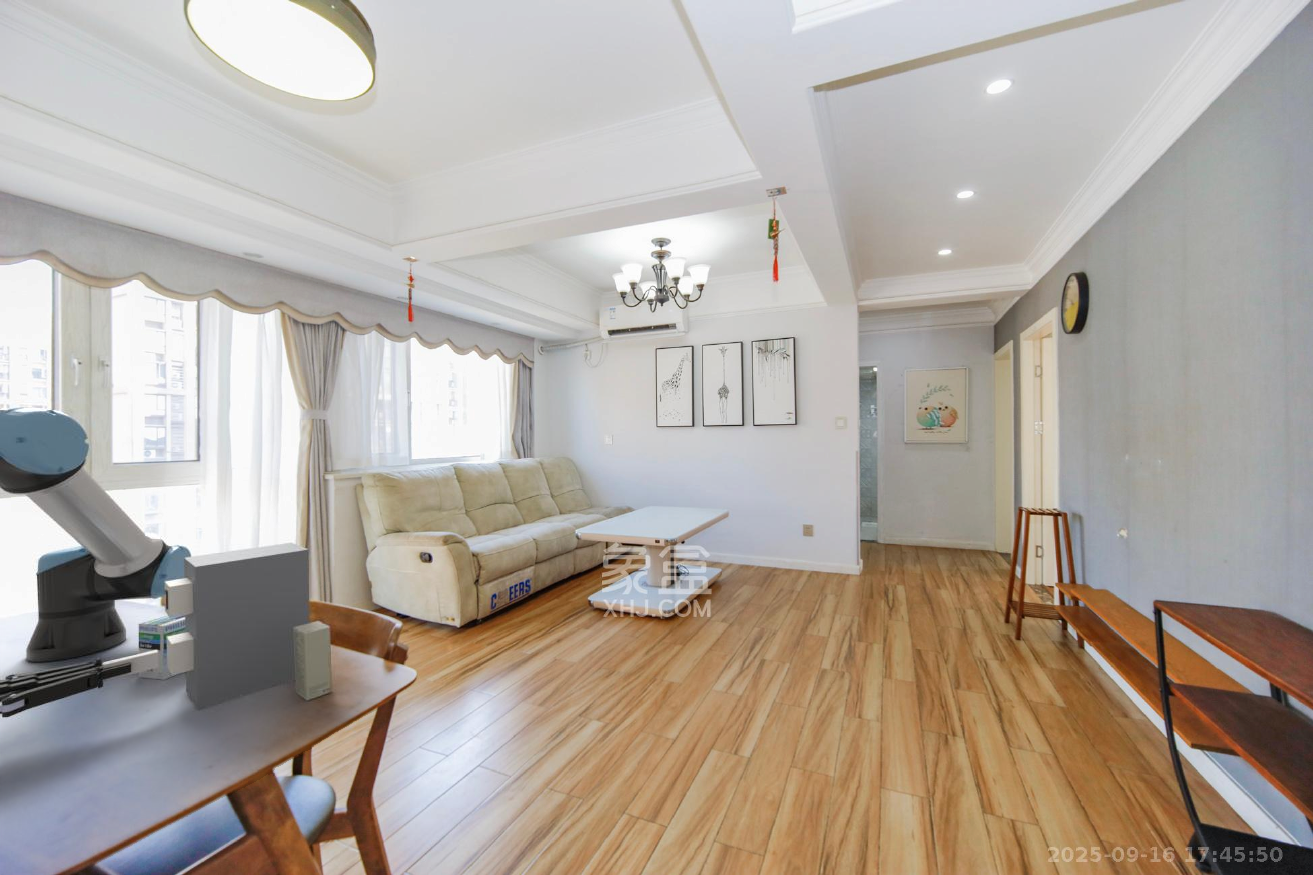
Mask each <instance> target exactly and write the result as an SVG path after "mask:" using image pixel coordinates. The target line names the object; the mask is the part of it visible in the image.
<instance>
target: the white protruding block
mask: <svg viewBox="0 0 1313 875" xmlns="http://www.w3.org/2000/svg"><path fill="white" fill-rule="evenodd" d="M164 610H165V611H164V612H165V613H166V616H167V615H168V616H169V617H170V618H173V617H177V616H182V615H187V614H192V613H193V581H192V580H191V579H190V578H183V579H177V580H171V581H165V597H164Z"/></svg>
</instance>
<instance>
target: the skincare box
mask: <svg viewBox="0 0 1313 875" xmlns="http://www.w3.org/2000/svg"><path fill="white" fill-rule="evenodd" d="M293 632H294V656H295V692H296V693H297V694H298V695H299V696H300V697H302V698H303V699H304V700H306V701H309V700H312V699H315V698H318V697H321V696H323V695H327V694H328V693H332V692H333V674H332V673H333V672H332V651H331V647H332V646H331V627H330V625H329V624H326V623H324V622H322V621H320V620H316V621H312V622H310V623H308V624H304V625H300V626H296V627H293Z"/></svg>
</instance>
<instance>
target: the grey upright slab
mask: <svg viewBox="0 0 1313 875" xmlns="http://www.w3.org/2000/svg"><path fill="white" fill-rule="evenodd" d="M309 550H310V549H308V548H306V547H304V546H301V545H298V544H295V543H293V542H287V543H279V544H271V545H266V546H258V547H253V548H251V547H249V548H244V549H237V550H231V551H223V552H215V553H208V554H201V555H194V556H191V557H186V558H184V578H190V579H191V580H192V581H193V613H192V614H187V615H185V633H186V632H190V634H191V635H192V636H193V638H194V670H190V671H186V672H185V691H186V693H187V695H188V697H189V698H190V700H191V701H192V703H193V705H194V706H195V708H196V710H197V711H199V710H203V709H206V708H208V707H211V706H215V705H218V704H221V703H225V702H228V701H230V700H231V701H232V700H234V699H238V698H240V697H244V696H247V695H249V694H253V693H255V692H256V693H257V692H260V691H262V690H265V689H269V688H273V687H275V686H279V685H282V684H285V683H288V682H292V681H296V679H295V656H294V632H293V627H296V626H300V625H304V624H308V623H311V621H310V617H311V616H310V570H309V569H310V568H309V566H310V564H309V562H310V561H309V560H310V559H309V557H310V556H309V555H310V554H309Z"/></svg>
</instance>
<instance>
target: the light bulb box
mask: <svg viewBox="0 0 1313 875" xmlns="http://www.w3.org/2000/svg"><path fill="white" fill-rule="evenodd" d="M181 633H185V615H182V616H177V617H173V618H170V617H169V616H168V615H167V614H166V615H165V616H161V617H158V618H154V619H151V620H148V621H145V622H141V623H138V654H141V653H145V652H149V651H153V650H157V651H158V668H154V669H150V670H146V671H142V672H138V678H144V679H154V680H160V681H161V680H162V681H164V680H167V679H169V678H172V677H174V676H177V675H178V674H175V675H172V674H171V673H170V671H169V669H168V667H167V637H168V636H172V635H177V634H181Z"/></svg>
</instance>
